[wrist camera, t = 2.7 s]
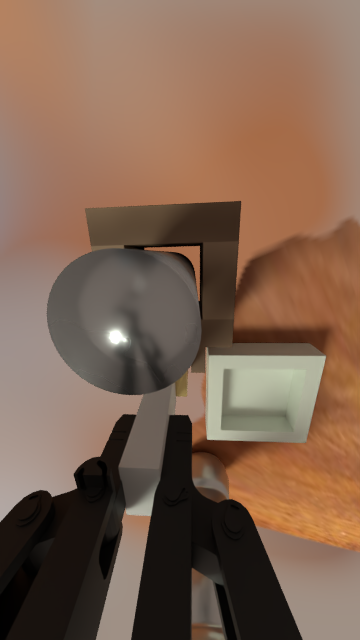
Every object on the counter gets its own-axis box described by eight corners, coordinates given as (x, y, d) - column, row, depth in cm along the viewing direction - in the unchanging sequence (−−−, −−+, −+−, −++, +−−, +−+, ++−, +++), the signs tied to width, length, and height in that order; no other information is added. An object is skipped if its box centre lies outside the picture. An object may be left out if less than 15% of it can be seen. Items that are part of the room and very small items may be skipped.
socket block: (117, 222, 18) (85, 208, 13) (225, 217, 18) (241, 201, 12) (132, 347, 23) (112, 378, 17) (220, 347, 22) (229, 379, 16)
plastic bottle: (229, 473, 28) (305, 918, 9) (184, 479, 29) (170, 892, 10) (219, 440, 26) (287, 913, 7) (171, 448, 27) (125, 883, 8)
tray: (206, 343, 22) (208, 355, 19) (309, 343, 21) (326, 355, 18) (205, 420, 25) (207, 439, 23) (293, 422, 25) (305, 442, 22)
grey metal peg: (149, 252, 19) (28, 250, 5) (194, 251, 19) (202, 245, 5) (153, 297, 21) (65, 393, 6) (195, 296, 20) (200, 396, 6)
